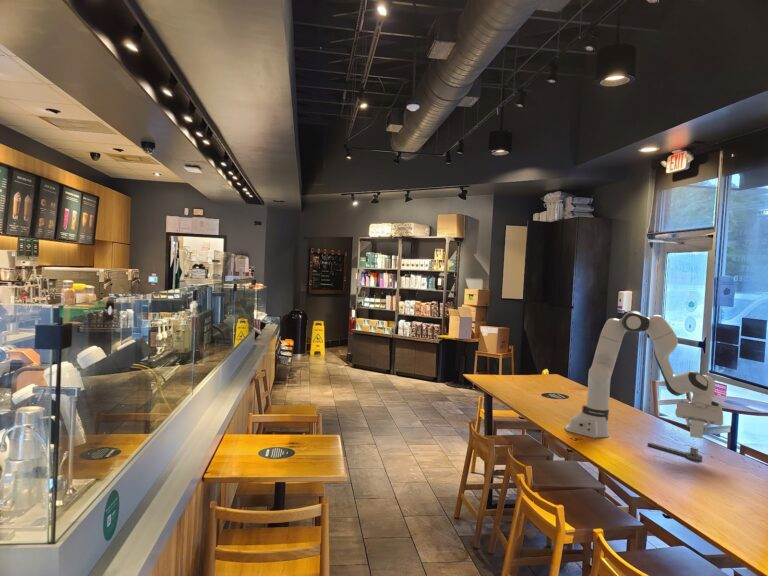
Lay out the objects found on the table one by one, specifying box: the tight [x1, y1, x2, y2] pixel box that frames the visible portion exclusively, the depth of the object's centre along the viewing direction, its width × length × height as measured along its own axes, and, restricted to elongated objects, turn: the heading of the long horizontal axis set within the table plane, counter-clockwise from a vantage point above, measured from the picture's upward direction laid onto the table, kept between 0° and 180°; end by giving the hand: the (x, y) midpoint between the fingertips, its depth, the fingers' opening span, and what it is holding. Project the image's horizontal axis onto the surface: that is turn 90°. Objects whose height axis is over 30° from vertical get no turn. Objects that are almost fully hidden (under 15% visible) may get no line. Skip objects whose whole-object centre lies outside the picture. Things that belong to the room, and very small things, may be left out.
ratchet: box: [647, 442, 703, 462], centre depth 262 cm, size 25×7×5 cm, turn 42°
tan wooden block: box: [689, 418, 705, 439], centre depth 255 cm, size 5×5×8 cm
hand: (696, 427), depth 254 cm, fingers closed on tan wooden block, 5 cm apart
